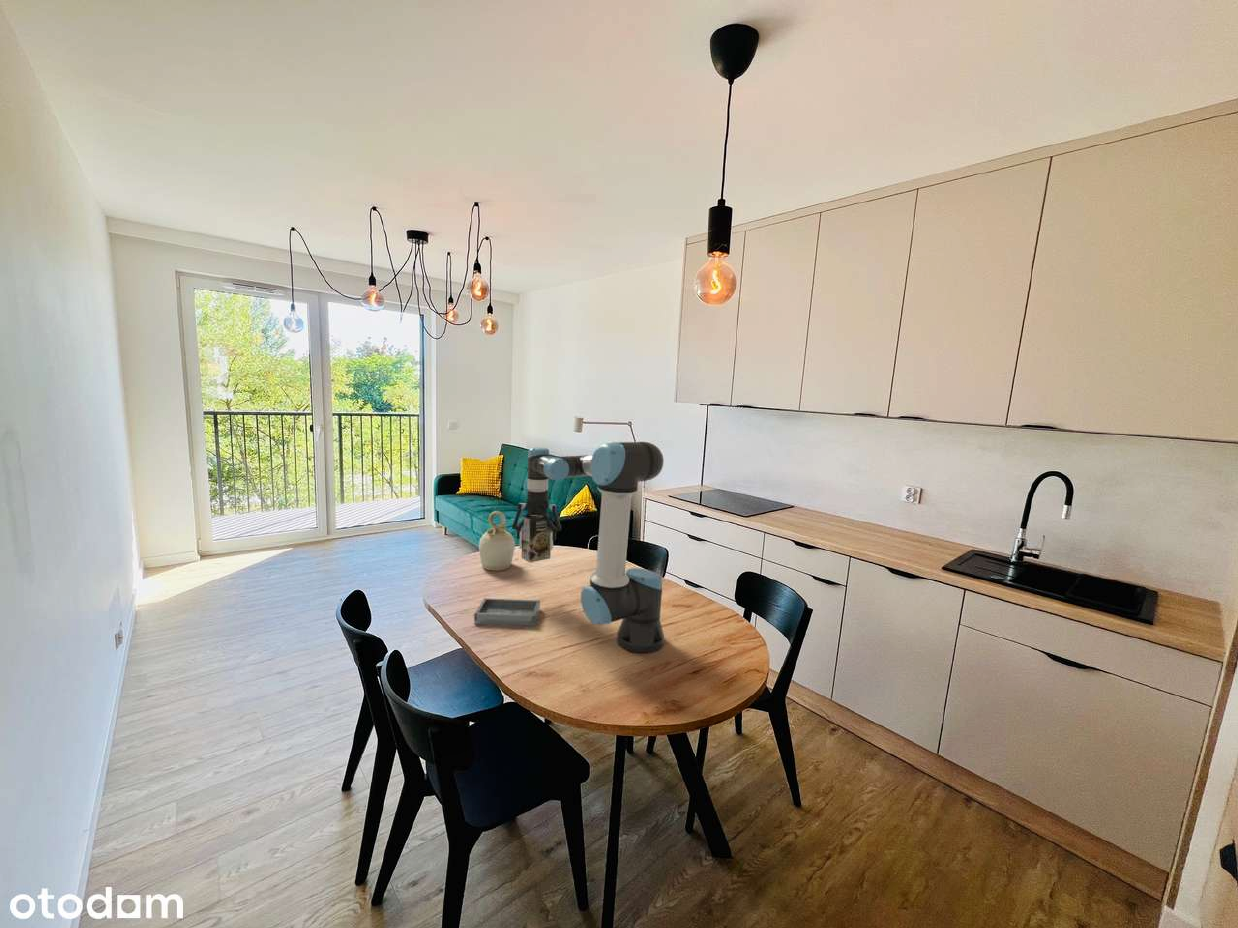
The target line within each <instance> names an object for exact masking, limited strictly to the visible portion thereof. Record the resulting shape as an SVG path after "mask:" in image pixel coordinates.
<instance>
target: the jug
mask: <svg viewBox="0 0 1238 928" xmlns="http://www.w3.org/2000/svg"><path fill="white" fill-rule="evenodd" d="M495 515H496V516H498V517H500V520H501V523H500V524H496V523H495V522H494V516H495ZM506 521H507V520H506V516H505V515H504V513H503V512H501V511H499V510H494V511H492V512H491V513H490V515H489V517H488V523H489V524H490V525H489V526H491V528H488V529H487V530H486V531H485V533H483V534H482V535H481V537H480V540H479V542H478V552H479V557H480V562H481V567H482V568H483V569H484V570H488V571H497V572H498V571H504V570H506V569H508V568H510V567H511V564H512V563H513V557H514V554H515V549H516V543H515V539H514V536H513V535H512V534H511V533H510V532H509V531H507V530H506V529H507V526H506Z"/></svg>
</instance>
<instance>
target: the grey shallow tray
mask: <svg viewBox="0 0 1238 928" xmlns="http://www.w3.org/2000/svg"><path fill="white" fill-rule="evenodd" d="M540 610H541V601H540V600H534V599H533V600H529V599H511V598H510V599H508V598H507V599H506V598H486V597H485V598H484V597H483V599H482V601H481V602H480V604H479V605H478V607H477V609H476V611H475V612H474V614H473V622H474V623H473V624H474V625H490V626H491V625H495V626H497V625H498V626H515V627H516V626H519V627H520V626H522V627H535V625H536V622H537V619H538V616H539V615H540Z"/></svg>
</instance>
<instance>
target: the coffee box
mask: <svg viewBox="0 0 1238 928" xmlns="http://www.w3.org/2000/svg"><path fill="white" fill-rule="evenodd" d="M525 516H526V515H524V516H522V520H523V519H524V525H523V526H522V528H521V530H522V549H521V559H523V560H525V561H526V562H527V563H535V562H539V561H544V560H549V559H551V551H552V550H550V533H551V531H552V530H551V528H550V526H549V525H548V523H547V521H546V518H544V517H543V515H532V514H531V515H530V516H529V517H525ZM552 517H553V516H550V515H549V519H550V520H551V521H552ZM552 522H553V521H552Z"/></svg>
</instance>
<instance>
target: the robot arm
mask: <svg viewBox="0 0 1238 928" xmlns="http://www.w3.org/2000/svg"><path fill="white" fill-rule="evenodd" d="M663 467H664V455H663V454H662V451H661V449H660V448H659V447H658V446H656V445H655V444H653V443H651V442H647V441H614V442H607V443H603V444H600V445H599V446H598V447H597V448H596V449H595V450H594V452H593V453H592V454H586V455H584V454H583V455H573V456H572V455H570V456H569V455H568V456H551V455H550V450H549V448H548V447H530V448H529V449H528V456H527V482H526V483H527V485H526V487H527V489H528V490H527V492H526V503H523V502H519V503H518V505H517V512H516V515H515V518H514V521H513V523H512V526H511V529H512V530H514V531H516V539H517V540H519V549H521V550H522V528H523V525H524V519H523V518H522V521H521V522H520V523H519V520H520V518H521V515H522V512H523V510H524V509H525V508H526V510H527V511H528V512H527V514H526V515H524V516H525V517H529V516H530V515H543V517H544V518H546V521H547V523H548V525H549V526H550V528H551V533H550V550H551V551H552V550H553V549H554V541H555V542H556V541H557V540H556V539H557V532H560V531H562V525H561V523H560V522H561V521H560V518H559V515H558V512H557V511H558V510H557V504H556V503H554V504H550V503H549V491H548V490H549V479H550V480H552V481H562V480H564V479H565V478H577V477H591V479H592V481H593V482H594V483H595V484H596V489H597V490H598V491H599V493H600V494H601V502H600V512H599V513H600V515H599V525H598V526H599V528H598V537H597V538H598V539H597V540H598V541H597V551H596V552H597V553H596V565H595V567H596V568H595V569H596V570H595V571H594V572H592V573H591V574H590V578H589V585H586V586H585V587H584V588H583V589H581V593H580V602H581V607H582V610H583V611H584V615H585V616H586V618H587V619H588V620H589V621H590V622H591V623H592V624H594V625H597V626H601V625H606V624H607V625H608V624H611V623H613V622H617V621H619V620H621V622H620V625H619V627H618V629H617V632H616V643H617V644H618V646H620V647H621V648H623V649H624V650H625V651H626V650H627V651H630V652H632V653H638V654H648V653H654V652H658V651H659V650H660V649H662V648H663V647H664V645H665V633H664V630H663V627H662V622H661V606H662V595H663V579H662V576H661V575H660V574H658V572H654V571H652V570H650V569H644V568H635V567H634V568H628V569H627V570H626V564H627V553H628V551H627V550H628V541H629V540H628V539H629V531H630V520H631V519H630V518H631V506H632V505H631V504H632V497H633V495H634V494H636V493H637V492H638V488H639V482H646V481H650V480H652V479H655V478H656V477H657V476H659V475H660V473H661V472H662V470H663ZM548 509H550V511H551V513H552V517H553V519H554V522H553V521H551V520H550V519H549V516H550V515H549V514H548V512H547V510H548ZM554 523H555V524H554ZM518 524H519V525H518Z"/></svg>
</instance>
